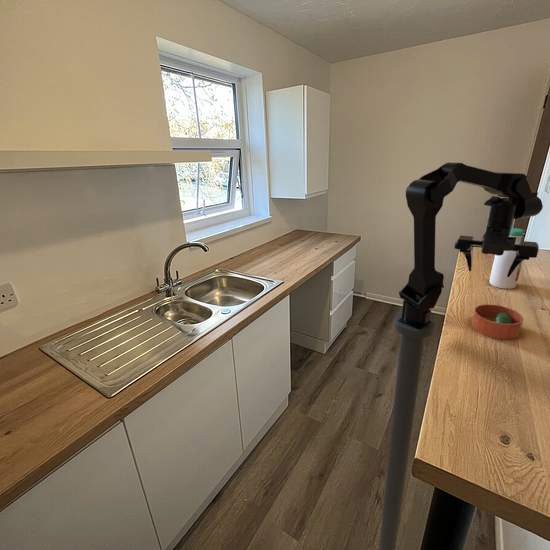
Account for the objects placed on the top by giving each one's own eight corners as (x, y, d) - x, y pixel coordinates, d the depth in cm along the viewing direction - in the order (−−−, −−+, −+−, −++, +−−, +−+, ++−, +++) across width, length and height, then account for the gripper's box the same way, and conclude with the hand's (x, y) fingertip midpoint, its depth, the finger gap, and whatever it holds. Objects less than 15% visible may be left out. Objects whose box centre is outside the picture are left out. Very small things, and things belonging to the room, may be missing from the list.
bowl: (464, 327, 84) (467, 313, 83) (481, 313, 90) (483, 300, 88) (510, 344, 76) (514, 329, 74) (525, 328, 82) (529, 313, 80)
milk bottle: (508, 291, 101) (523, 234, 94) (484, 284, 108) (496, 229, 100) (520, 285, 105) (535, 229, 97) (496, 278, 111) (508, 225, 103)
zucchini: (497, 335, 80) (513, 333, 77) (491, 323, 80) (506, 321, 77) (499, 322, 86) (514, 319, 83) (493, 311, 86) (508, 307, 83)
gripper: (455, 225, 81) (446, 277, 87) (545, 231, 70) (529, 291, 76) (462, 216, 89) (454, 265, 95) (544, 221, 78) (529, 275, 84)
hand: (488, 273), depth 88 cm, fingers open, 9 cm apart
